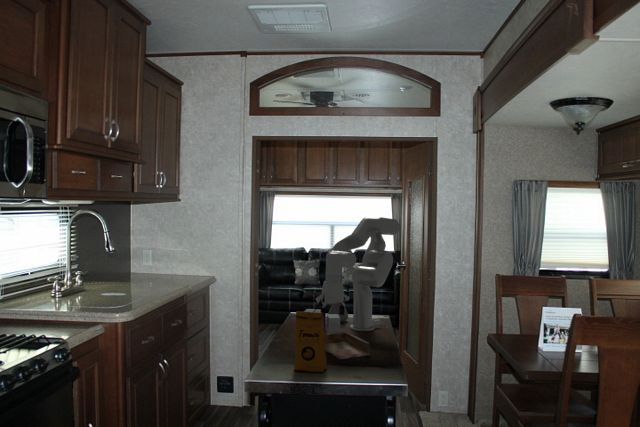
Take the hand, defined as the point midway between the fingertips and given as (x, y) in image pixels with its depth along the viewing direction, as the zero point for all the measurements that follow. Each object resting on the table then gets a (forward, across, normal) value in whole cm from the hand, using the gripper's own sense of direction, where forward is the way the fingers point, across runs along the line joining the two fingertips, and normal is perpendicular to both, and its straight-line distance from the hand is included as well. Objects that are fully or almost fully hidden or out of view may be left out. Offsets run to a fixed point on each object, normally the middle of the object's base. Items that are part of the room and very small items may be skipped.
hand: (332, 315), depth 224 cm
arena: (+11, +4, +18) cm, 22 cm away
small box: (+11, -1, 0) cm, 11 cm away
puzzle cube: (+11, +2, -16) cm, 19 cm away
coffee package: (+12, +27, +34) cm, 45 cm away
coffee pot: (+10, -15, -32) cm, 37 cm away
